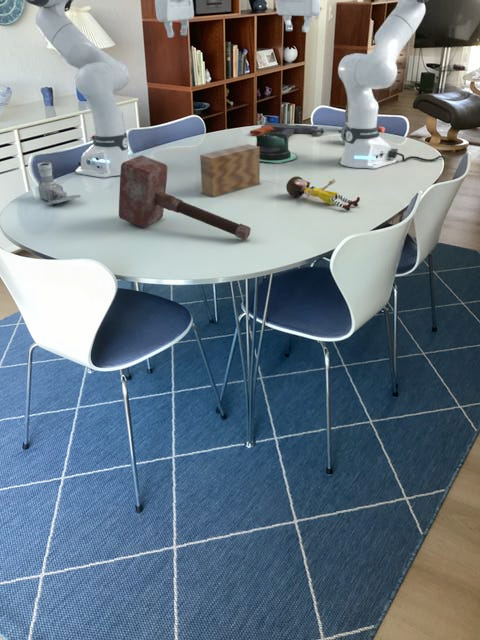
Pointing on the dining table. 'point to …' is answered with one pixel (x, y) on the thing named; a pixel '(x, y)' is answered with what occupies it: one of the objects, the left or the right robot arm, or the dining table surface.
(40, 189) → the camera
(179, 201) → the sledgehammer
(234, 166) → the box
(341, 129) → the toy
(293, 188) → the figurine
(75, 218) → the dining table surface
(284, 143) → the green dome on base
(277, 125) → the submachine gun
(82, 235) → the dining table surface
